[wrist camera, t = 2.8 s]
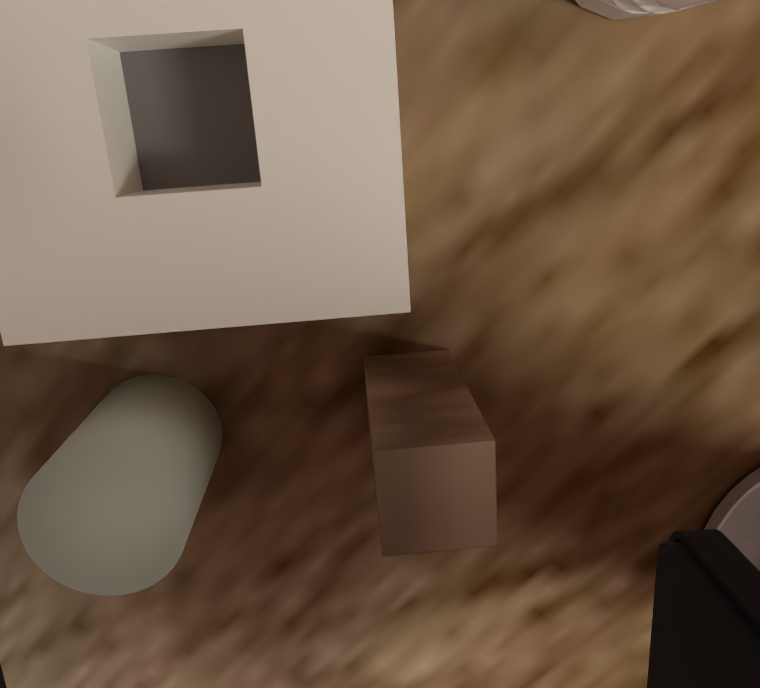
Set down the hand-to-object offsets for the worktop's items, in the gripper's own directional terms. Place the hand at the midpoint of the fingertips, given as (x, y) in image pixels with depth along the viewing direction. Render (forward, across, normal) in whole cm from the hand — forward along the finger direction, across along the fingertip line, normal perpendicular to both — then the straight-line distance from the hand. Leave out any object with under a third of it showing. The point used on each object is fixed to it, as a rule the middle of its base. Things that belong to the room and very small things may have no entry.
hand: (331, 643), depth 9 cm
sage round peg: (+22, +9, +6) cm, 25 cm away
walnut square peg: (+22, -3, +5) cm, 23 cm away
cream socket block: (+22, +6, -8) cm, 24 cm away
